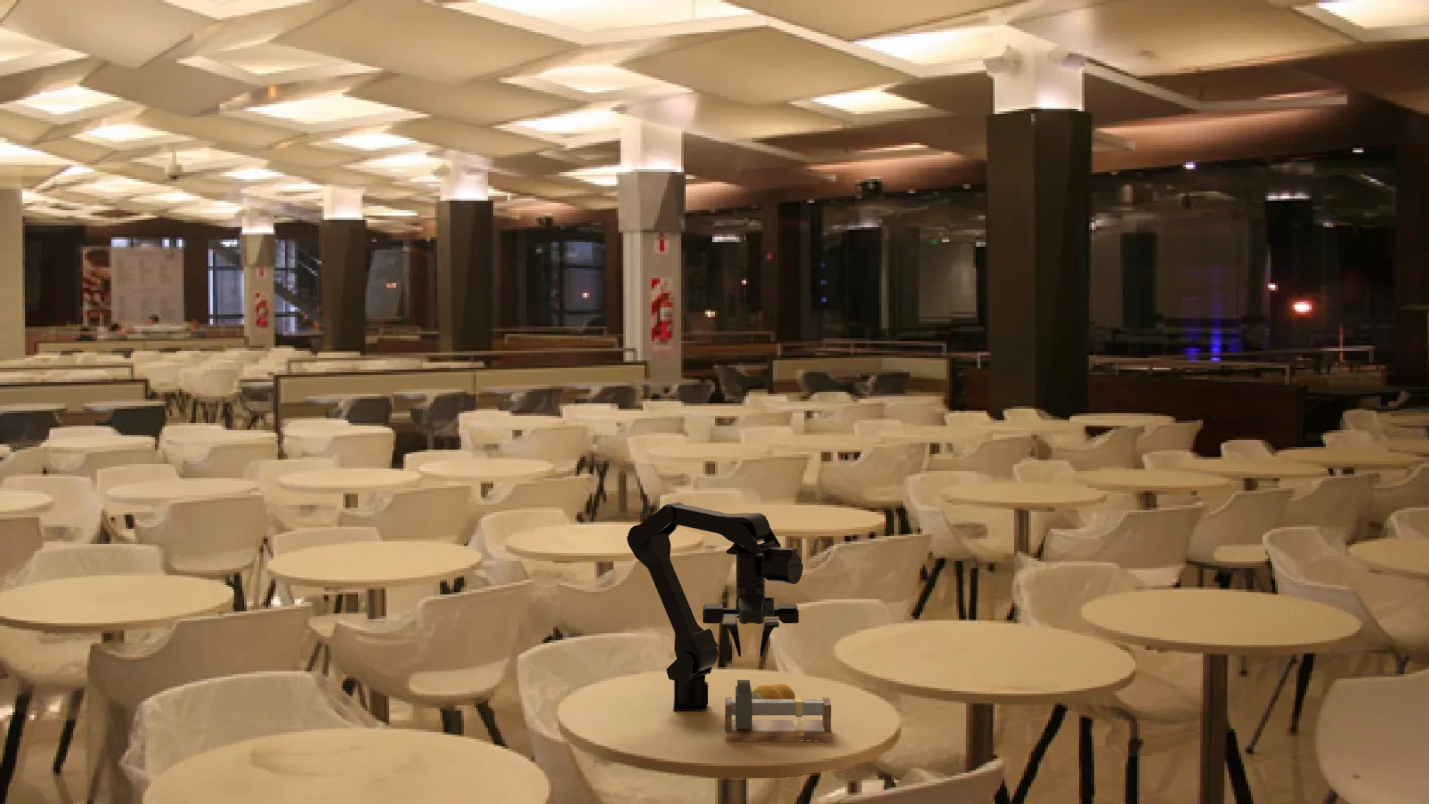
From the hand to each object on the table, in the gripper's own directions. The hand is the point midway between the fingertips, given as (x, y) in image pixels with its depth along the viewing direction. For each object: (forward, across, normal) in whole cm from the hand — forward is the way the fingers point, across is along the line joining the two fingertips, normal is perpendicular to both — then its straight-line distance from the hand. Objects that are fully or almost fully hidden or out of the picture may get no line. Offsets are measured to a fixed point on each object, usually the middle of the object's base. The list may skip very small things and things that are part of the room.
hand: (750, 656), depth 285 cm
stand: (+12, +5, -9) cm, 16 cm away
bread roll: (+13, +5, +11) cm, 18 cm away
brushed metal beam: (+9, +5, -9) cm, 14 cm away
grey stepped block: (+11, -2, -9) cm, 14 cm away
